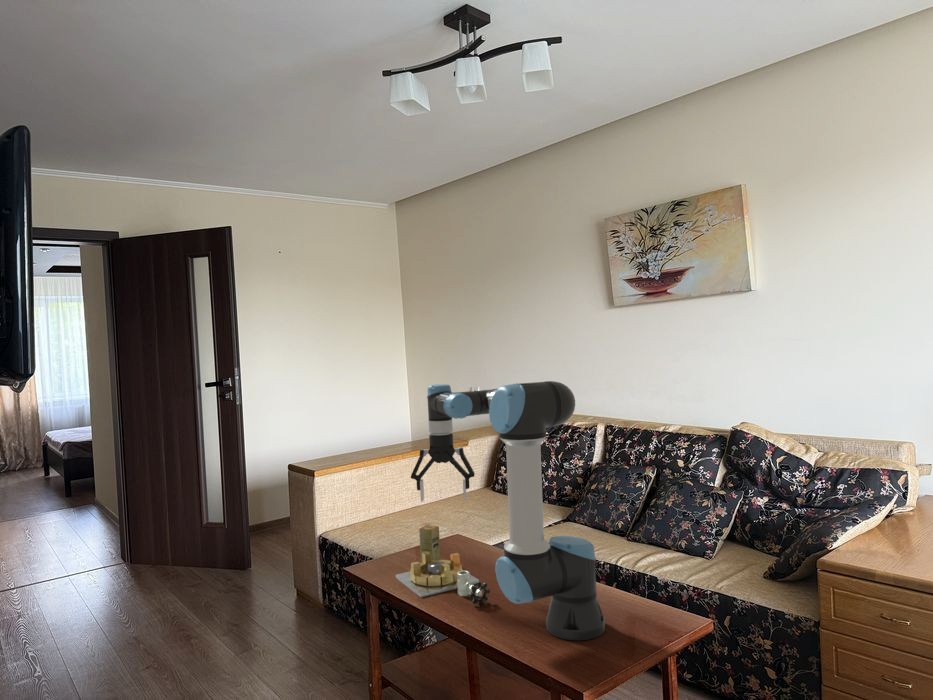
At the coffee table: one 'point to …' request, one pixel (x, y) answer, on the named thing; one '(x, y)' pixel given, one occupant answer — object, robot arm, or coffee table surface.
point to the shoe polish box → (430, 541)
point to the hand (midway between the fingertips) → (443, 499)
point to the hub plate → (429, 590)
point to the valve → (471, 588)
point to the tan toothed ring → (435, 580)
